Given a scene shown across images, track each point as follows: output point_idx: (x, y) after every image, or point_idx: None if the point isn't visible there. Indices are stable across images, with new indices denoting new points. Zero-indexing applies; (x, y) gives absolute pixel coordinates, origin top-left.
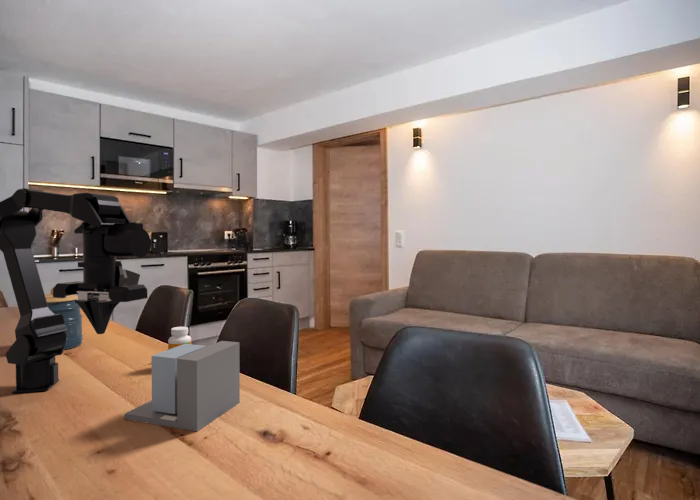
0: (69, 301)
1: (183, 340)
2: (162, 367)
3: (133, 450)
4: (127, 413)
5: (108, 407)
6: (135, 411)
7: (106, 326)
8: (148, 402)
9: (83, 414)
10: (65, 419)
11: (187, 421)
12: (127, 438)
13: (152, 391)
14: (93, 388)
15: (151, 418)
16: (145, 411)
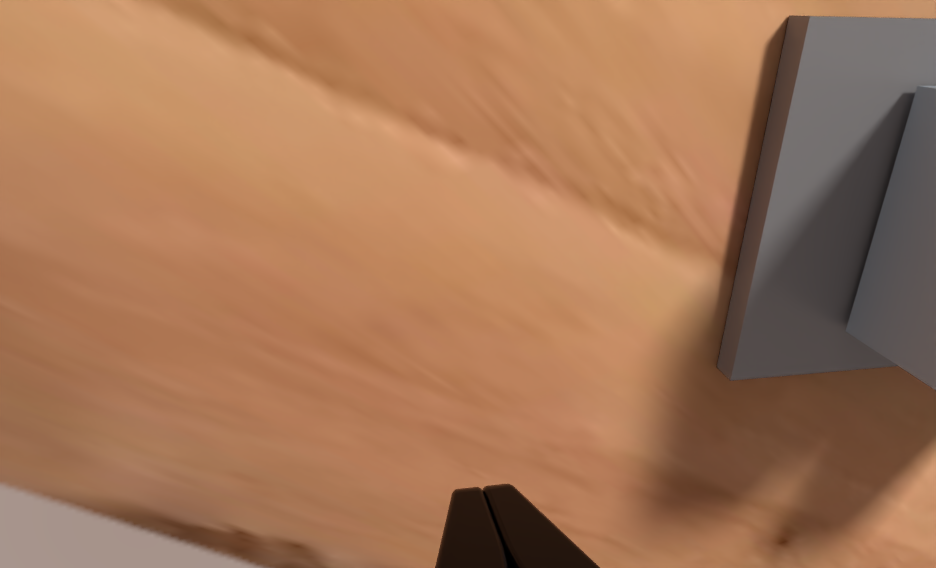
0: None
1: None
2: None
3: (878, 499)
4: (742, 375)
5: (552, 306)
6: (763, 347)
7: (570, 548)
8: (766, 250)
9: (502, 400)
10: (472, 458)
11: None
12: (819, 461)
13: (925, 380)
14: (188, 116)
15: (862, 367)
16: (807, 332)
